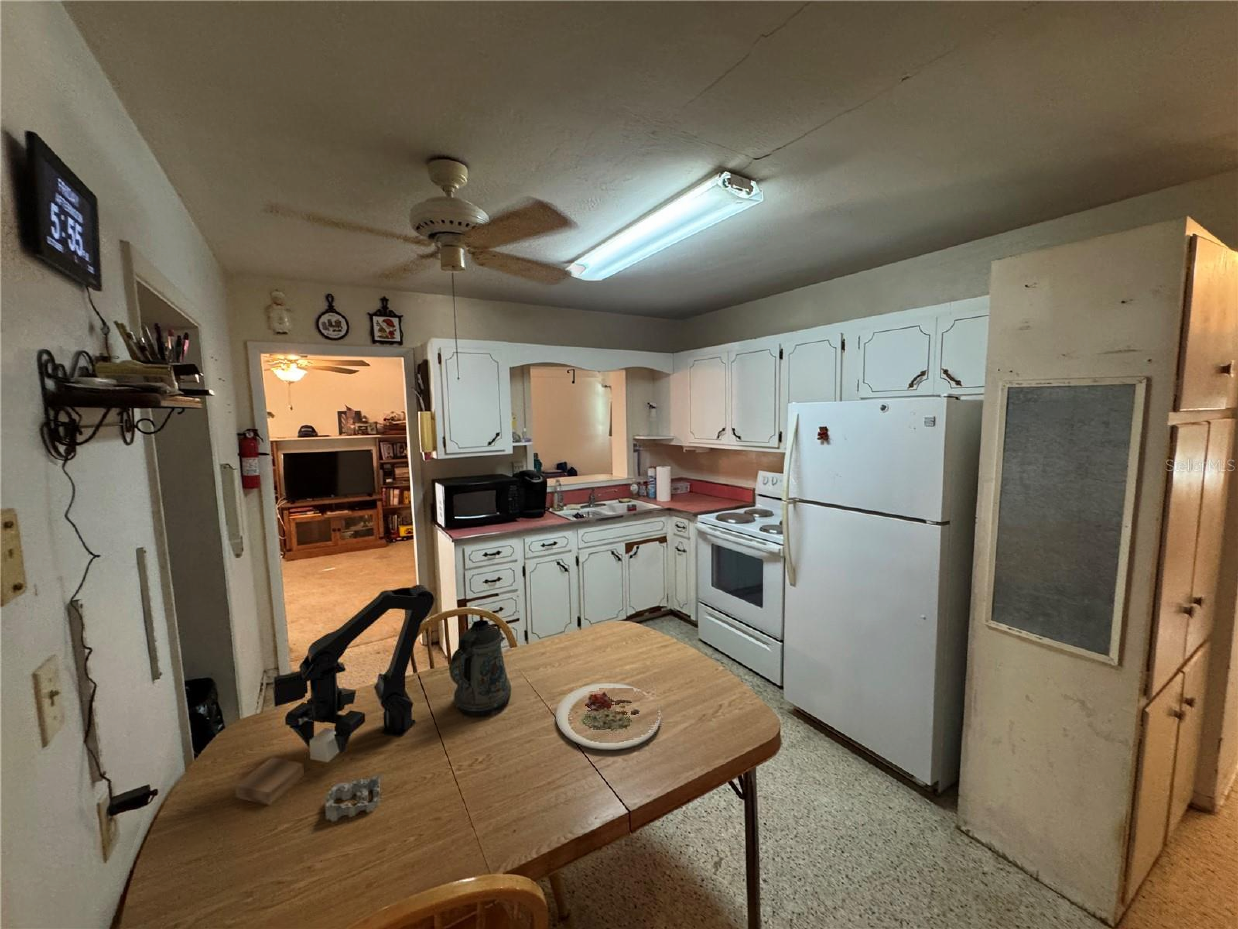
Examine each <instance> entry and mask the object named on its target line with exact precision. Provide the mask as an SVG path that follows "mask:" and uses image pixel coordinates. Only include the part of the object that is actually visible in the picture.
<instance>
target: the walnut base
mask: <svg viewBox="0 0 1238 929" xmlns="http://www.w3.org/2000/svg"><path fill="white" fill-rule="evenodd" d="M304 768H305V767H304V763H301V762H297V761H291V760H287V759H286V760H285V759H281V758H276V757H270V758H269V759H267V760H266V761H265V762H264V763H263V764H261V765H260V766H258V767H257V768H255V770H253V771H252V772H251V773H249V774H248V775H247V776H246V777H244V778H243V779H242V780H240V781H238V783H237V784H235V798H237V799H241V800H246V801H250V802H255V803H258V804H263V805H267V806H271V805H272V804H273V803H274V802H275V801H276V800H277V799H279V798H280V797H281V796H282V795H283V794H284V793H285V792H287V791H288V790H290V789H291V787H292V786H294V785H295V784H296V783H297V782H298V781H299V780H300V779H302V778H303V777H304V776H305V773H304V772H305V770H304Z"/></svg>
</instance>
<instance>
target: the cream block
mask: <svg viewBox="0 0 1238 929" xmlns="http://www.w3.org/2000/svg"><path fill="white" fill-rule="evenodd" d="M335 734H336V732H335V728H334V729H333V728H329V727H325V728H323V729H322V730H321V731H320V732H318V733H317V734H316V735H314V737H313V738H312V739H311V740H310V748H309V756H310V757H309V759H310V760H314V761H319V762H323V763H324V762H325V763H329V762H330V761H331V760H333V758H334V757H335V756H336V755H338V754H339V753H340V752H339V749H338V746H337V743H336V740H335V736H334V735H335Z"/></svg>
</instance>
